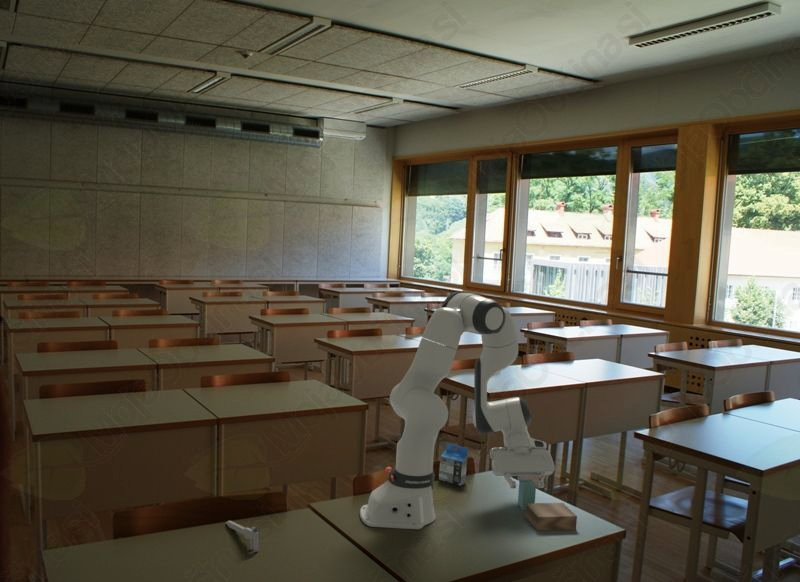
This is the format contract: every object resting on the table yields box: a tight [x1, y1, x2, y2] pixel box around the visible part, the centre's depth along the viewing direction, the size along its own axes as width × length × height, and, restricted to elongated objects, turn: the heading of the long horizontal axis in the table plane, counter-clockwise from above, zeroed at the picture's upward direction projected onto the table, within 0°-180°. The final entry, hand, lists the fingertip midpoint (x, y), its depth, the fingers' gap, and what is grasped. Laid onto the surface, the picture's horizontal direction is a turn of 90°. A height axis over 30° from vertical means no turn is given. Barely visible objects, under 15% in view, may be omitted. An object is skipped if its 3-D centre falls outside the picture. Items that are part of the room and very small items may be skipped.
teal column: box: [517, 479, 537, 511], centre depth 214 cm, size 4×4×8 cm
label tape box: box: [438, 442, 468, 486], centre depth 233 cm, size 9×4×12 cm, turn 55°
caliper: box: [225, 520, 260, 553], centre depth 182 cm, size 20×1×6 cm, turn 36°
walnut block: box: [524, 502, 578, 531], centre depth 203 cm, size 12×10×4 cm
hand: (527, 487), depth 213 cm, fingers open, 8 cm apart
